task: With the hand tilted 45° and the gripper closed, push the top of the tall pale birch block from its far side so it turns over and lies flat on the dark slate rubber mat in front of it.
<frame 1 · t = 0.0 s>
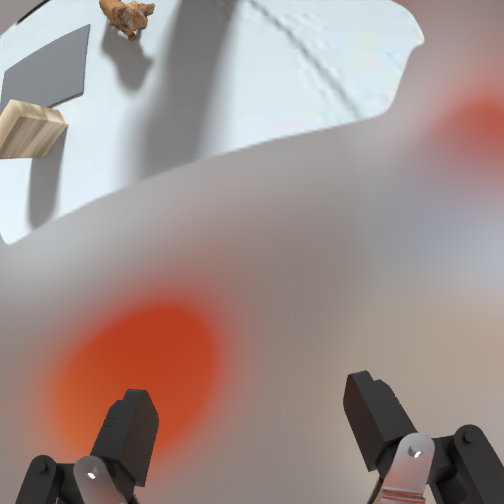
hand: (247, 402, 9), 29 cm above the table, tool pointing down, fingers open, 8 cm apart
lion figurine: (132, 22, 27), on the table
slate mat: (37, 79, 28), on the table
birch block: (50, 133, 31), on the table
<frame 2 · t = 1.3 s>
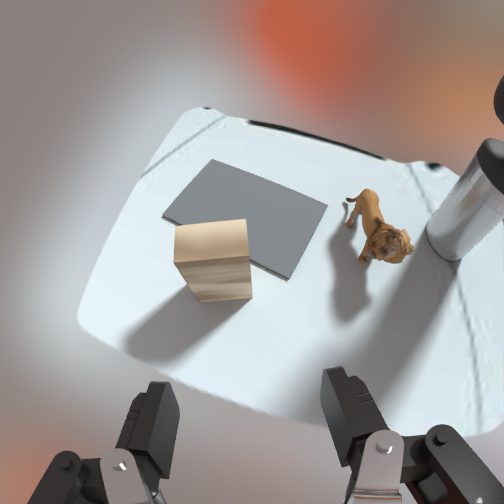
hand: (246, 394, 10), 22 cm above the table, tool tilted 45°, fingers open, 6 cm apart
lion figurine: (366, 240, 39), on the table
slate mat: (244, 209, 42), on the table
birch block: (224, 286, 36), on the table
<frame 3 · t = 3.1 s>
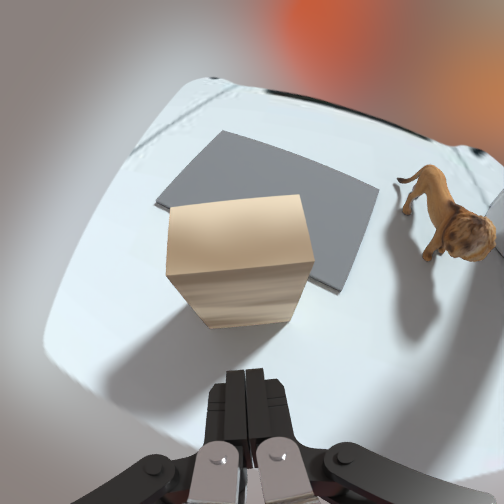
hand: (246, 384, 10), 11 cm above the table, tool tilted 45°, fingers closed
lion figurine: (426, 232, 27), on the table
slate mat: (270, 193, 30), on the table
birch block: (247, 303, 24), on the table
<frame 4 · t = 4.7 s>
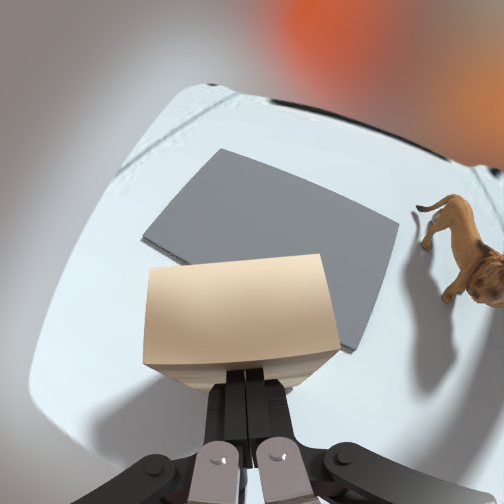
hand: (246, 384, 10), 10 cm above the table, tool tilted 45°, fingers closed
lion figurine: (446, 268, 23), on the table
slate mat: (276, 229, 26), on the table
birch block: (249, 366, 20), on the table, tilted 6°, touching gripper
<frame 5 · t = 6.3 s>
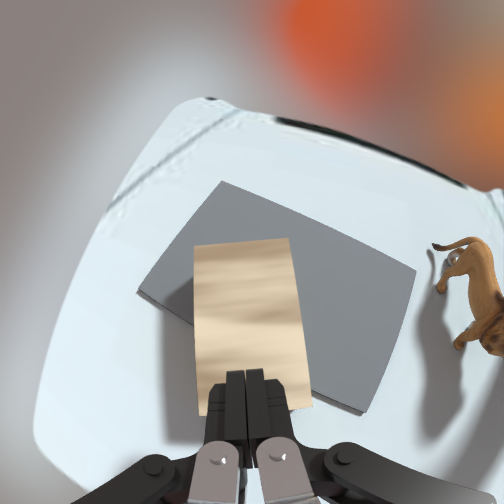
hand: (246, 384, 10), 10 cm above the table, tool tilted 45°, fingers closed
lion figurine: (460, 311, 21), on the table
slate mat: (285, 283, 23), on the table
birch block: (256, 410, 16), point 2 cm above the table, tilted 90°, touching slate mat
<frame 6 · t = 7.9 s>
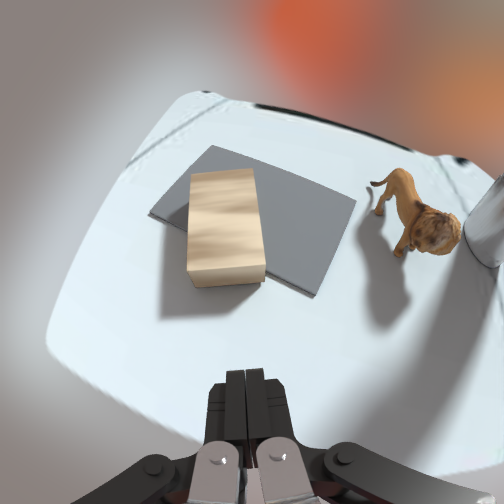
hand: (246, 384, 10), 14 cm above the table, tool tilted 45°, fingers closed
lion figurine: (398, 230, 31), on the table
slate mat: (254, 205, 33), on the table
birch block: (228, 277, 26), point 2 cm above the table, tilted 90°, touching slate mat
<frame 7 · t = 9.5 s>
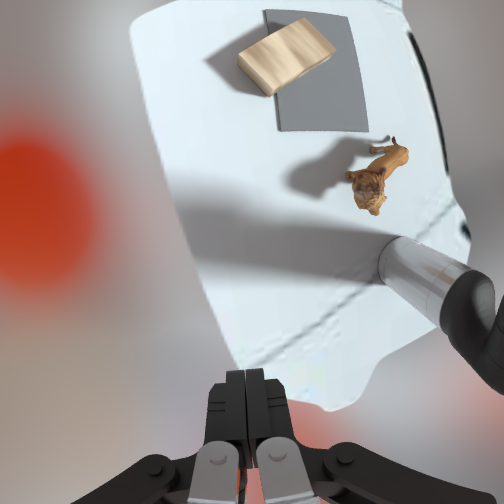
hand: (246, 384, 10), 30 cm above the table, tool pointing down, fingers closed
lion figurine: (367, 171, 39), on the table
slate mat: (318, 65, 33), on the table
birch block: (254, 76, 31), point 2 cm above the table, tilted 90°, touching slate mat
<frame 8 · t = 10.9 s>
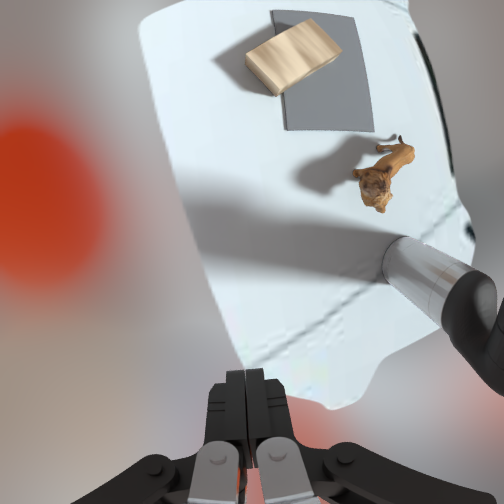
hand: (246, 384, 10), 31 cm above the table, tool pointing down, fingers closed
lion figurine: (374, 169, 39), on the table
slate mat: (324, 65, 33), on the table
birch block: (261, 75, 32), point 2 cm above the table, tilted 90°, touching slate mat
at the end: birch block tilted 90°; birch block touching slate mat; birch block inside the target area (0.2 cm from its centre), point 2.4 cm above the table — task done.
